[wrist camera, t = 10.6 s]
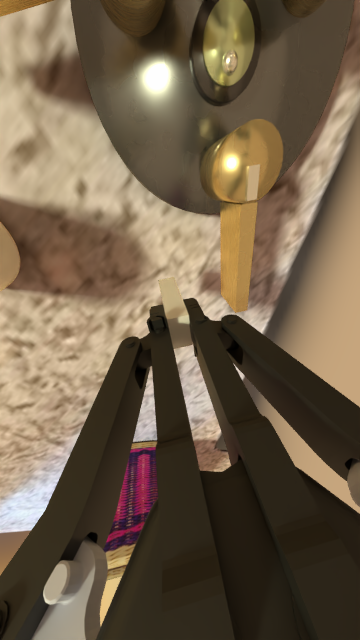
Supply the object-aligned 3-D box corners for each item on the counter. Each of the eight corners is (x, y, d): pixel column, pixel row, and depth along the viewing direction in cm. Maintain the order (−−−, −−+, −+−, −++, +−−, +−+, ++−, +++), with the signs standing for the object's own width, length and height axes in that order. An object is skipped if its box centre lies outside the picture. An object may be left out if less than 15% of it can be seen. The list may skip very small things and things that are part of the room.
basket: (92, 444, 42) (-59, 1258, 10) (175, 436, 47) (250, 964, 15) (99, 488, 59) (49, 846, 27) (159, 478, 64) (178, 771, 32)
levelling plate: (106, -492, 6) (74, -1148, 3) (383, -28, 12) (462, -98, 9) (67, 156, 15) (48, 147, 12) (242, 238, 21) (260, 246, 18)
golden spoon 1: (198, 143, 14) (223, 122, 10) (247, 135, 14) (293, 111, 10) (206, 292, 22) (222, 317, 17) (238, 285, 22) (262, 308, 18)
